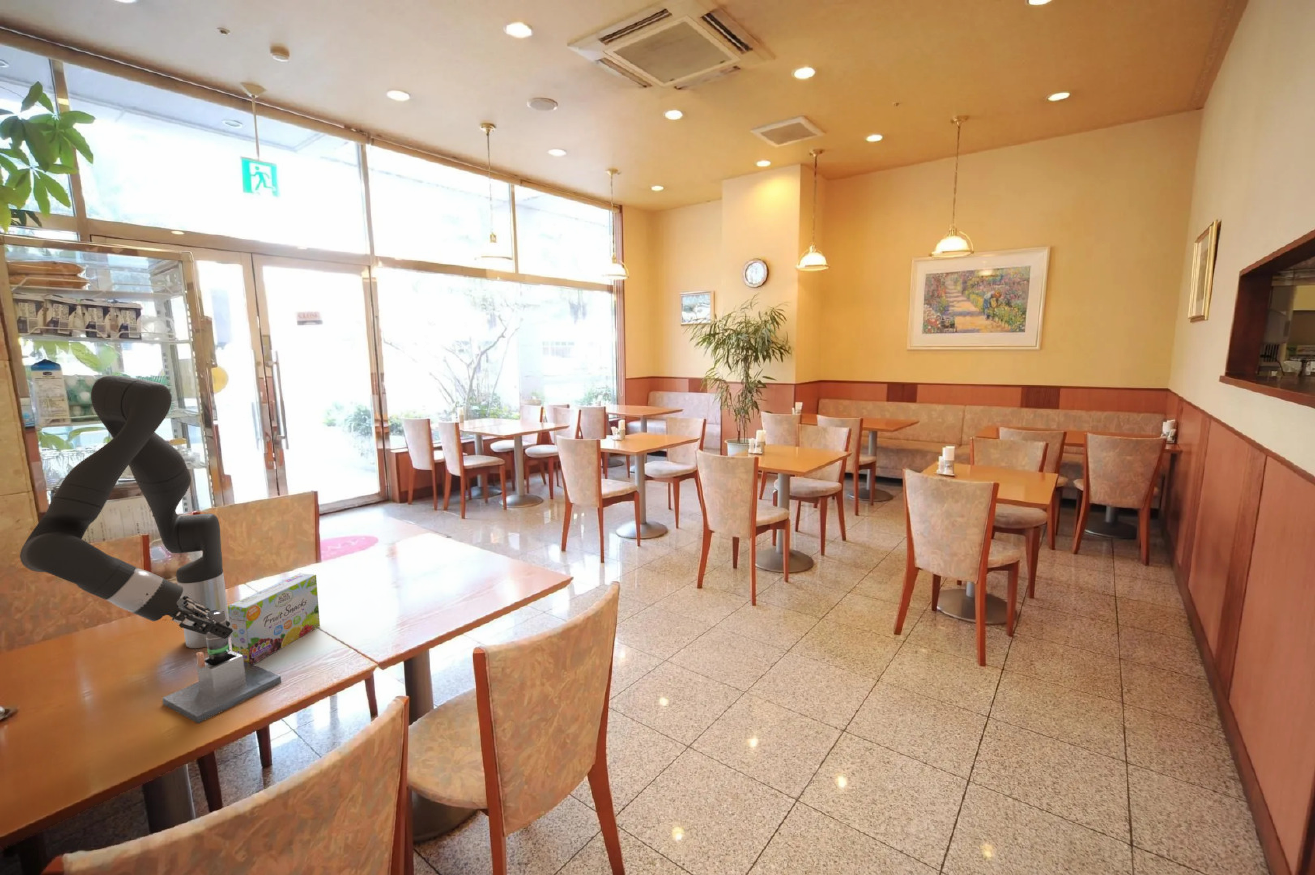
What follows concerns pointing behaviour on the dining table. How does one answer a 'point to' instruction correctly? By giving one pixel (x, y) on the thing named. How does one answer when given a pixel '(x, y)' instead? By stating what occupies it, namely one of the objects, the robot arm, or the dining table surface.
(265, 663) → the dining table surface
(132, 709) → the dining table surface
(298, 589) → the snack box
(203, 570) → the robot arm
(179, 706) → the grey square socket base
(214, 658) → the grey round-topped cylinder
